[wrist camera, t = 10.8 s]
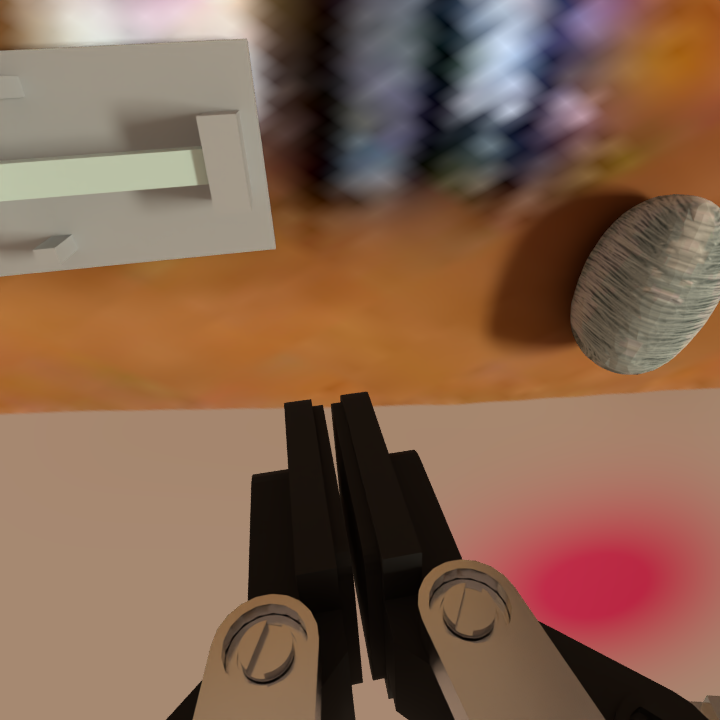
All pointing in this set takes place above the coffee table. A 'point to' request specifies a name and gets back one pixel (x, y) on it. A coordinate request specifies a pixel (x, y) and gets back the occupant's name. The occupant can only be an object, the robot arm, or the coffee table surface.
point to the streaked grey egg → (649, 284)
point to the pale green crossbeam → (101, 173)
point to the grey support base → (132, 133)
